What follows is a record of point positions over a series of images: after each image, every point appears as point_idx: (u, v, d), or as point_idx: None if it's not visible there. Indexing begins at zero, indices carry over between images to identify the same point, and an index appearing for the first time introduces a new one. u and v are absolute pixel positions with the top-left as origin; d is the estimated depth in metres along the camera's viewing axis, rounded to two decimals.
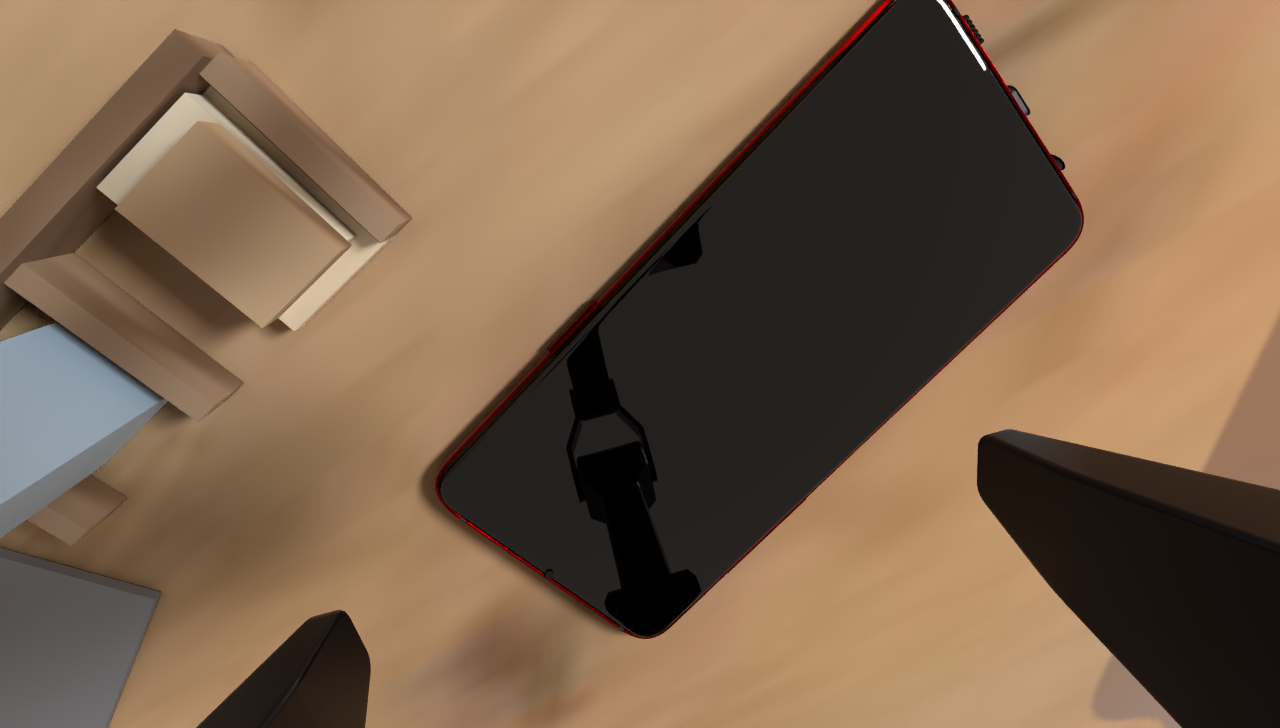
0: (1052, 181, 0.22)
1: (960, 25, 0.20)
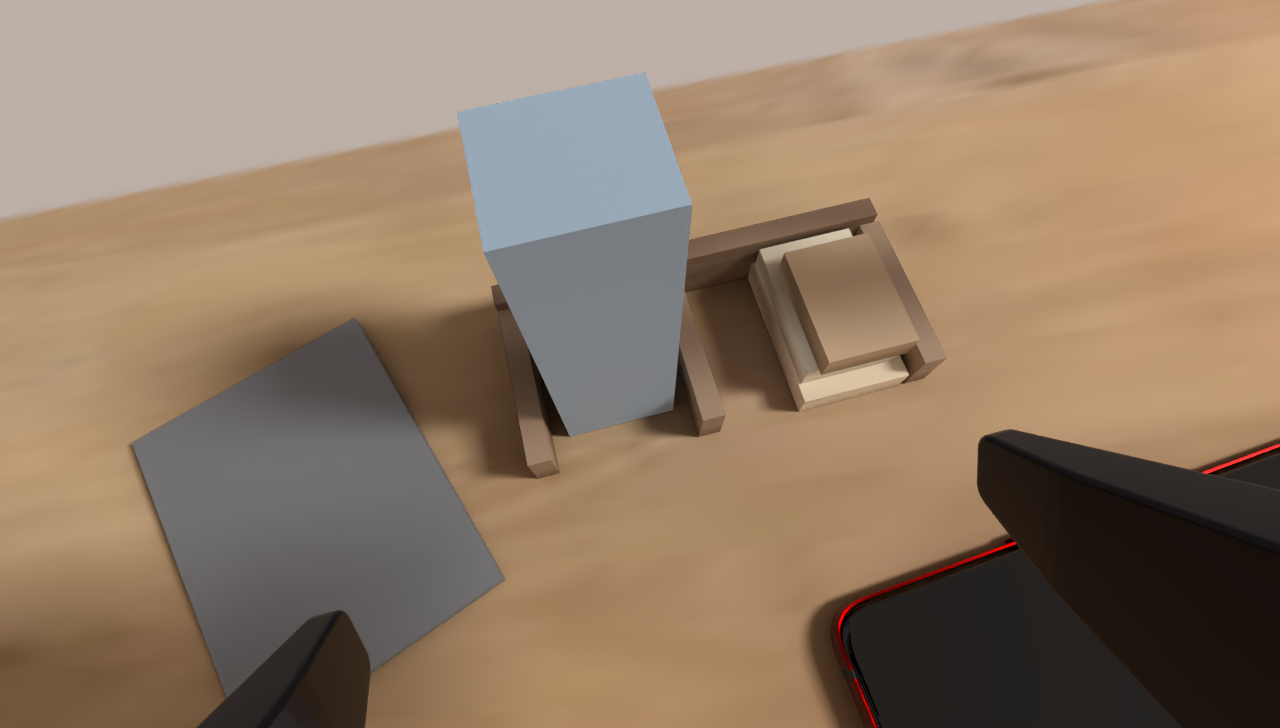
0: None
1: None
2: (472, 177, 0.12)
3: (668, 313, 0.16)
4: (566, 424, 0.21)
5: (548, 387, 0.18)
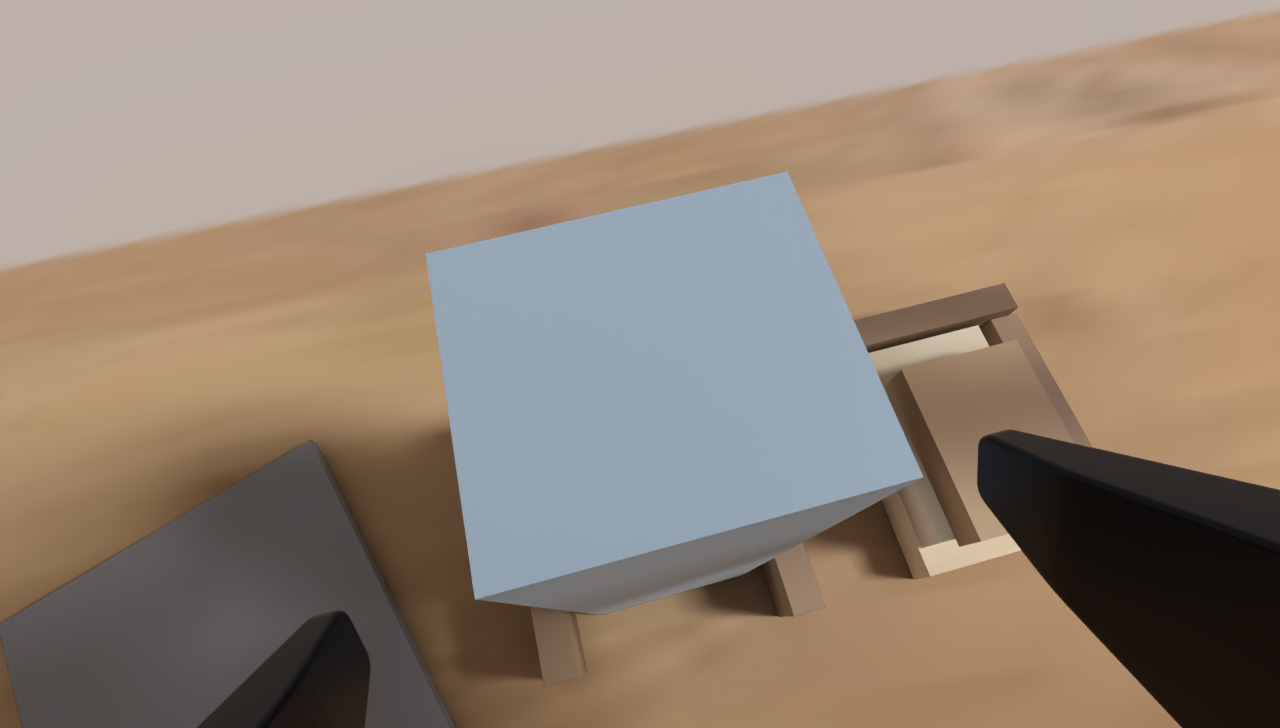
0: None
1: None
2: (453, 405, 0.06)
3: (786, 545, 0.09)
4: (598, 613, 0.15)
5: (579, 611, 0.12)
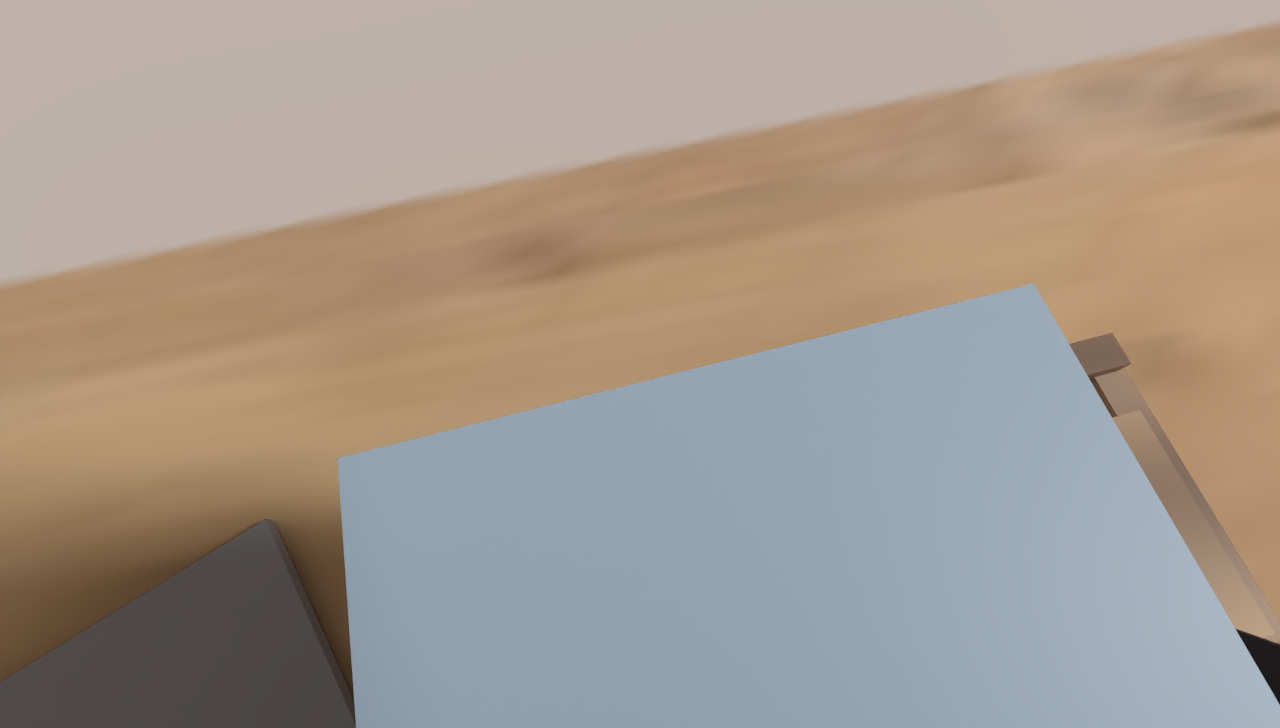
0: None
1: None
2: None
3: None
4: None
5: None
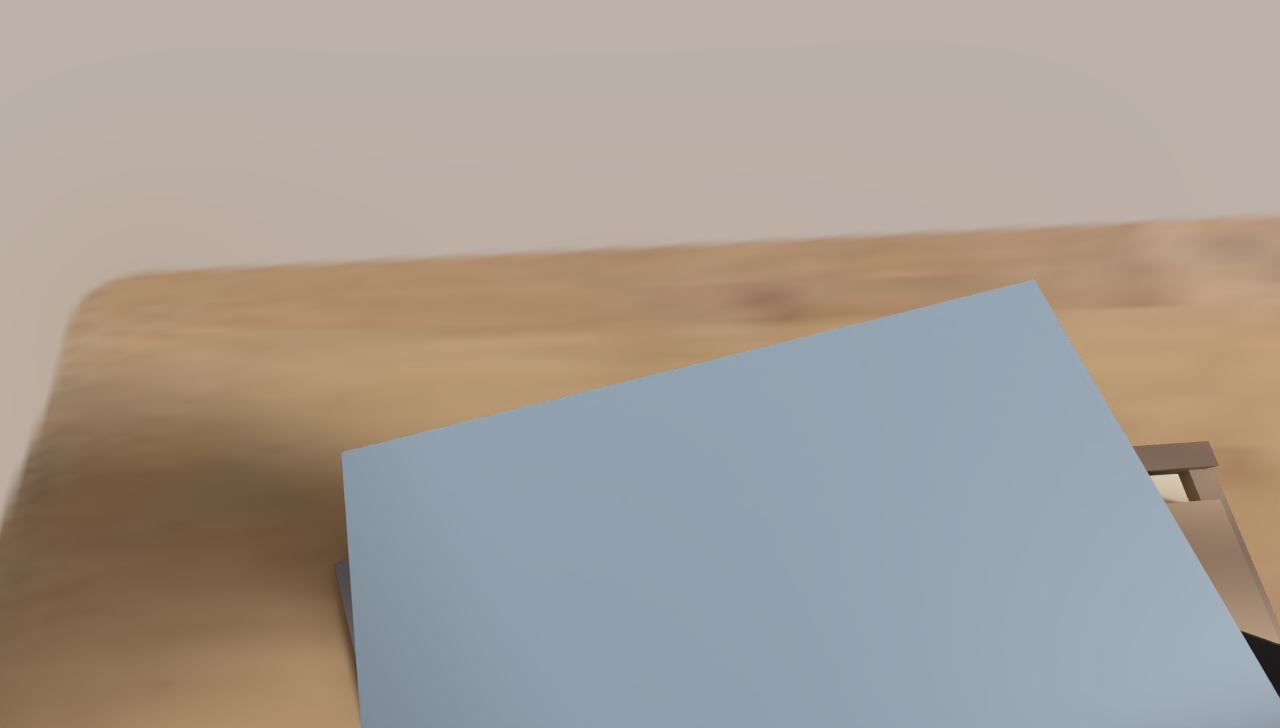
0: None
1: None
2: None
3: None
4: None
5: None
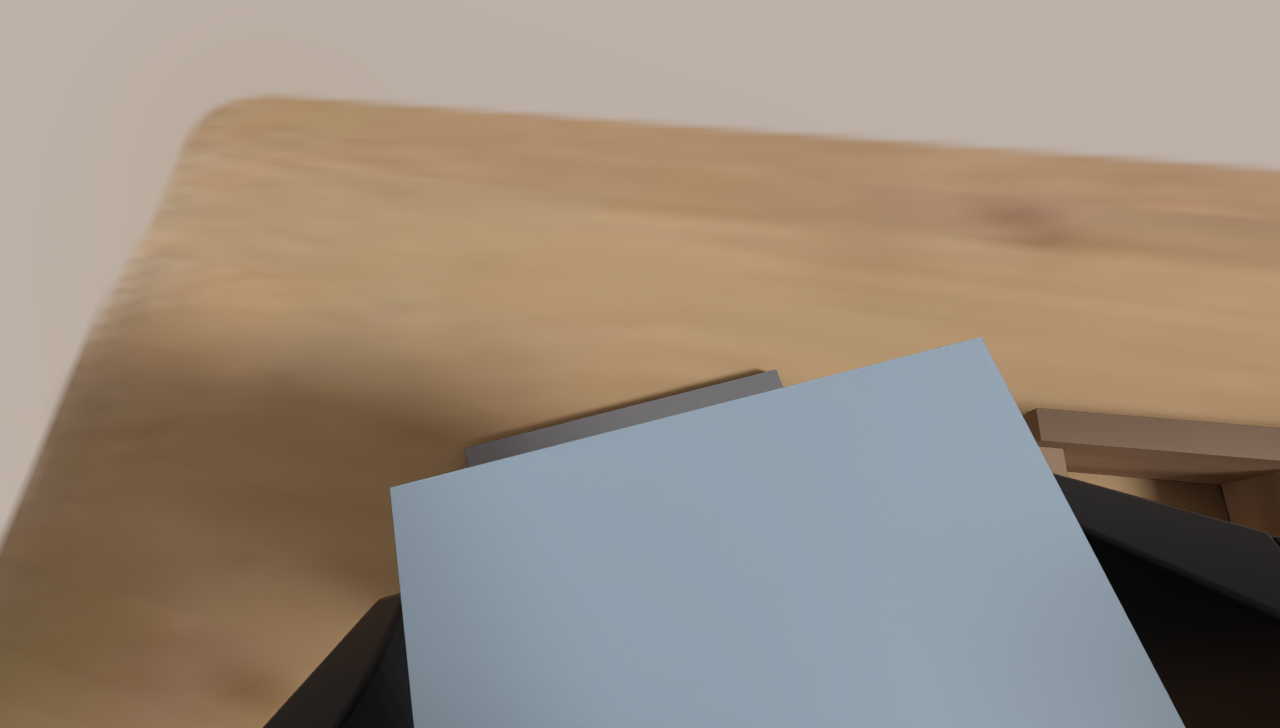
0: None
1: None
2: None
3: None
4: None
5: None
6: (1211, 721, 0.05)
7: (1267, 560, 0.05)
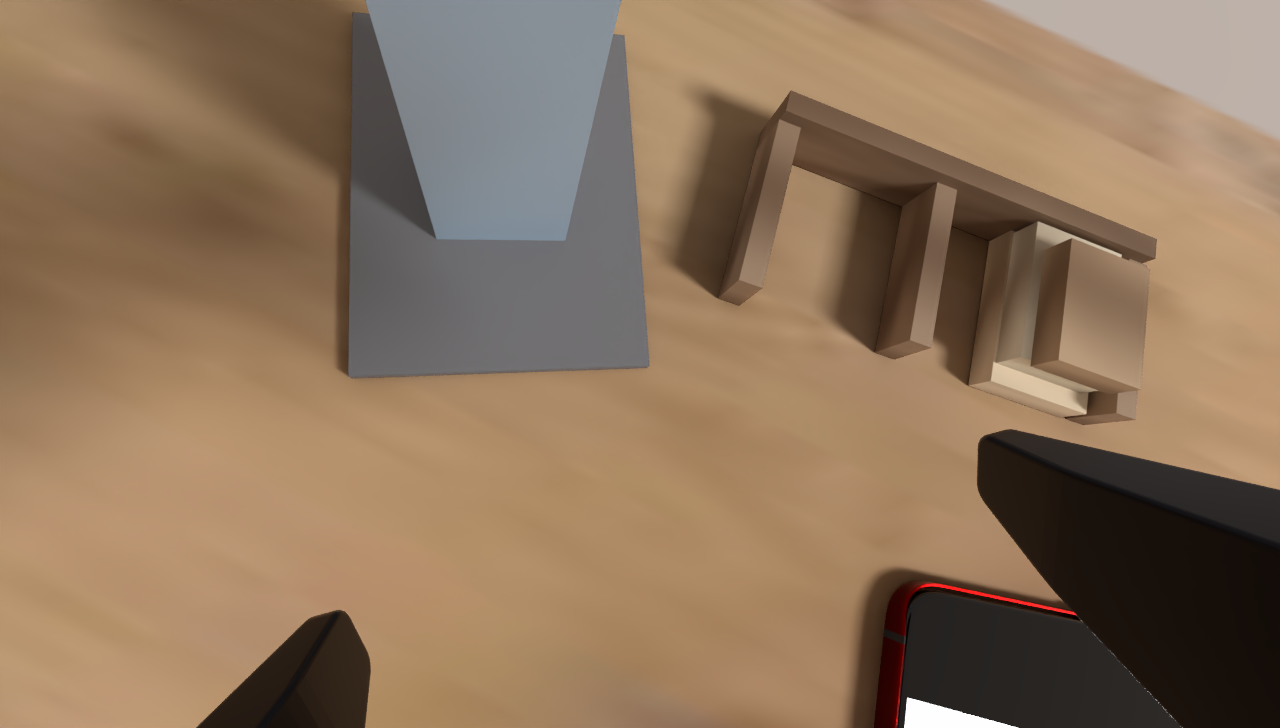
0: None
1: None
2: None
3: (583, 81, 0.12)
4: (433, 219, 0.18)
5: (412, 151, 0.14)
6: None
7: None
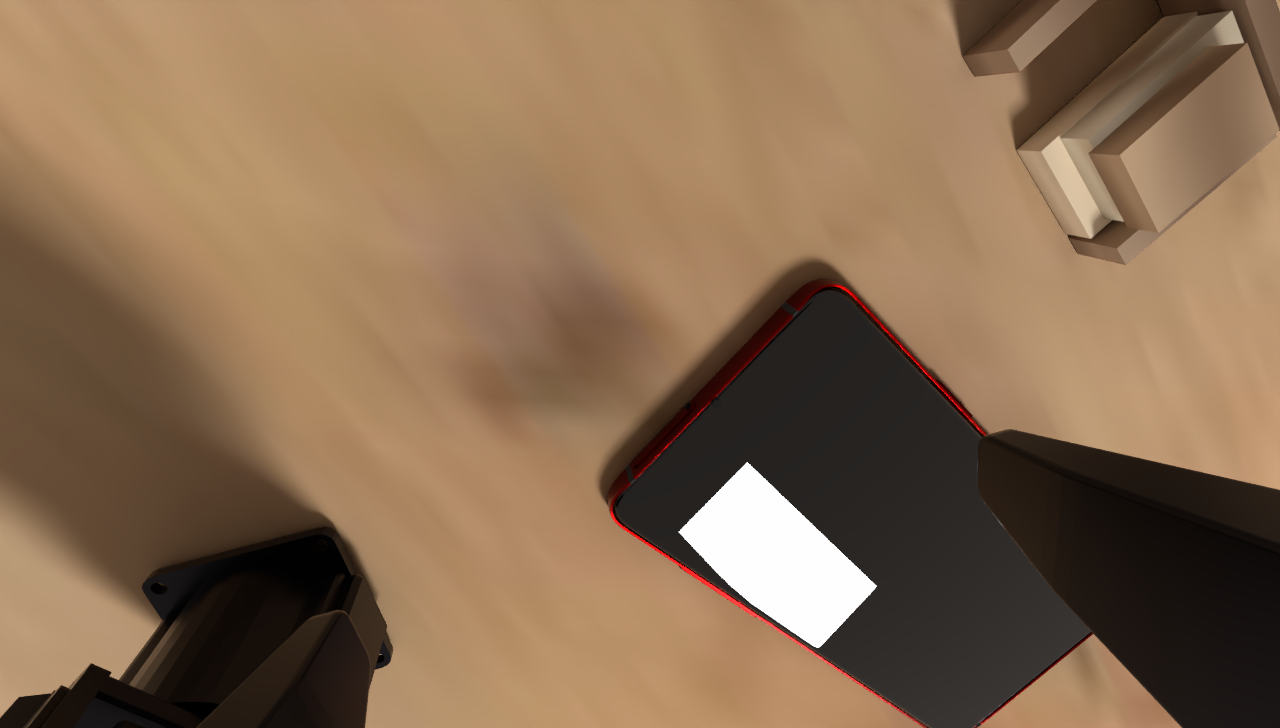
0: (991, 709, 0.31)
1: None
2: None
3: None
4: None
5: None
6: None
7: None
